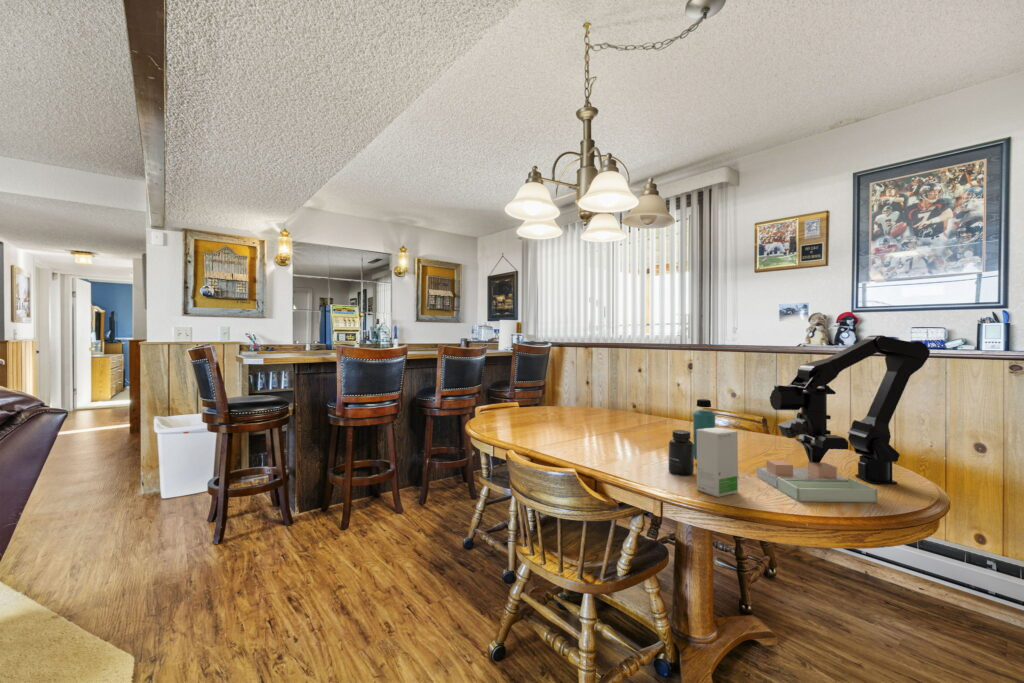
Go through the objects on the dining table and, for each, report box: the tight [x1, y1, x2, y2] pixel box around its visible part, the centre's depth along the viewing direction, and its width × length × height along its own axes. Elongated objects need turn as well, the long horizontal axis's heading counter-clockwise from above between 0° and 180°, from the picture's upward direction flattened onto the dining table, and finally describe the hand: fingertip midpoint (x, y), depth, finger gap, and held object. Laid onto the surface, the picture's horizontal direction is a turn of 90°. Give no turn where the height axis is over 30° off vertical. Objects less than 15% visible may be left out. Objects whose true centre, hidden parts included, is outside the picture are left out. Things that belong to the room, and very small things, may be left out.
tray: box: [776, 477, 878, 504], centre depth 106 cm, size 18×9×3 cm, turn 87°
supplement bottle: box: [668, 429, 695, 477], centre depth 125 cm, size 7×7×12 cm
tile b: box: [766, 459, 794, 474], centre depth 117 cm, size 4×4×2 cm
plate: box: [756, 466, 848, 489], centre depth 116 cm, size 18×10×2 cm, turn 87°
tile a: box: [807, 461, 838, 477], centre depth 115 cm, size 4×4×2 cm
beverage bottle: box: [692, 398, 716, 461], centre depth 133 cm, size 6×7×20 cm
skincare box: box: [696, 427, 739, 498], centre depth 110 cm, size 8×7×16 cm
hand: (813, 467), depth 118 cm, fingers closed
